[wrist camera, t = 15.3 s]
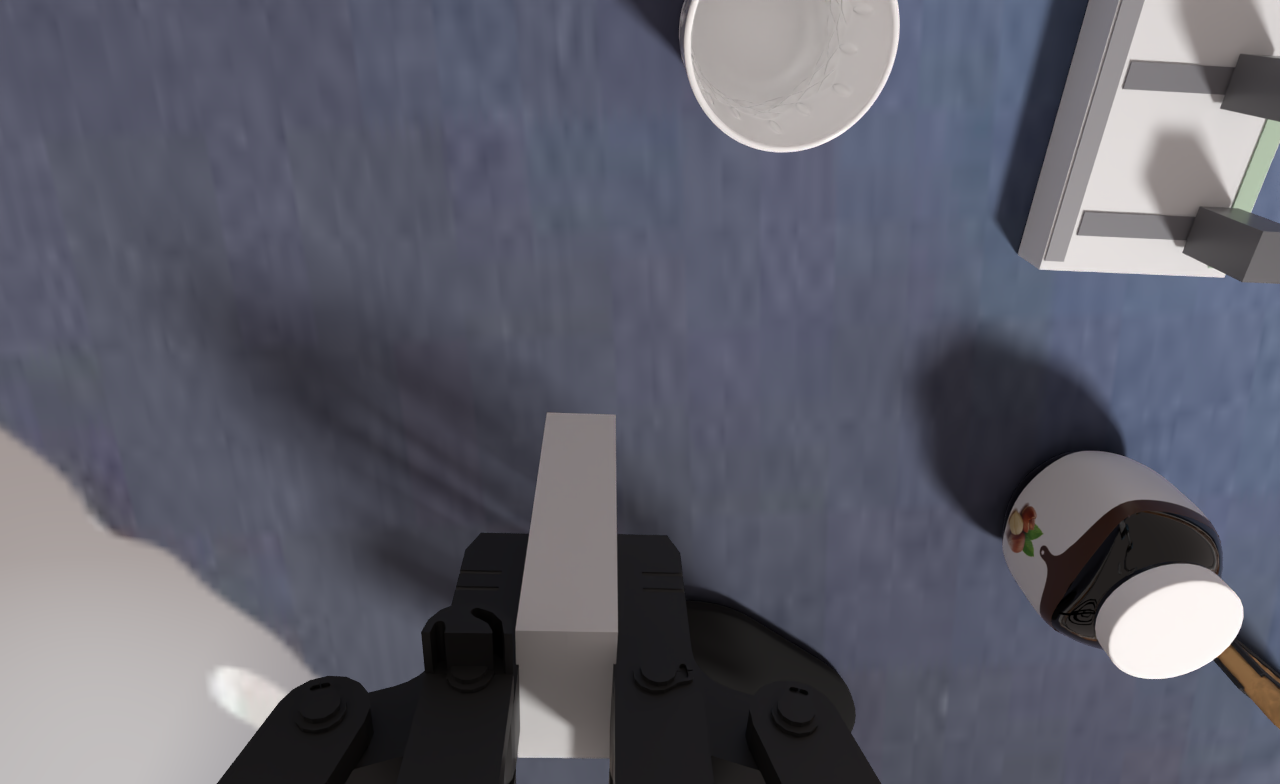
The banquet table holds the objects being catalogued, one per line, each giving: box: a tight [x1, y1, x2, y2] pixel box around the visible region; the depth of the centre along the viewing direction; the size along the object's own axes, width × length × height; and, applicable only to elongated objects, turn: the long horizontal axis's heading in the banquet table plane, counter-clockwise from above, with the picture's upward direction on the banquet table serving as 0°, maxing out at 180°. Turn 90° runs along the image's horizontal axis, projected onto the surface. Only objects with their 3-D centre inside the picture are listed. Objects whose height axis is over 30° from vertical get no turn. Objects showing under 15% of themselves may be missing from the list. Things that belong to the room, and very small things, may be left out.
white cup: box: [679, 0, 899, 152], centre depth 34 cm, size 8×8×10 cm
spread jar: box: [1002, 450, 1243, 679], centre depth 47 cm, size 12×11×12 cm
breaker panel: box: [1018, 0, 1280, 277], centre depth 39 cm, size 19×10×3 cm, turn 177°
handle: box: [1182, 206, 1280, 284], centre depth 39 cm, size 2×2×4 cm
